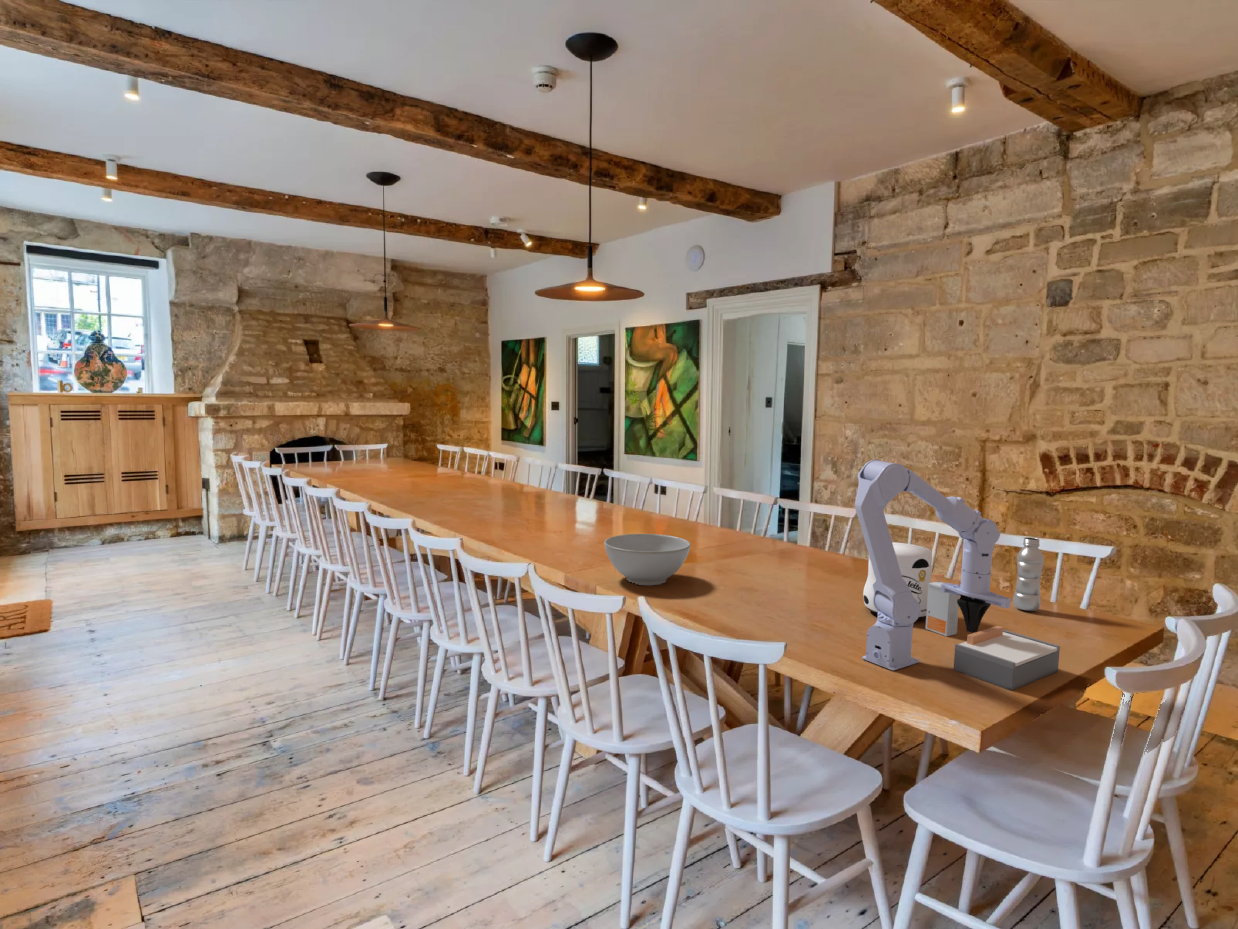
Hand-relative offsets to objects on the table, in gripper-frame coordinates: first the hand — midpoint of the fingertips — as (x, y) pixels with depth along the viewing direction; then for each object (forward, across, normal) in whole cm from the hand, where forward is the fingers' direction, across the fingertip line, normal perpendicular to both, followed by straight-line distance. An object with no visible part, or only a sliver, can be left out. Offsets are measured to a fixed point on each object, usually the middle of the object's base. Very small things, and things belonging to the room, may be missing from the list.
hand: (971, 631), depth 150 cm
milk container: (+6, +28, -14) cm, 32 cm away
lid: (+1, -8, 0) cm, 8 cm away
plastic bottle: (+6, +12, -49) cm, 51 cm away
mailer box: (+6, -8, 0) cm, 10 cm away
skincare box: (+6, +14, -11) cm, 19 cm away
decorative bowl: (+6, +89, +25) cm, 93 cm away
